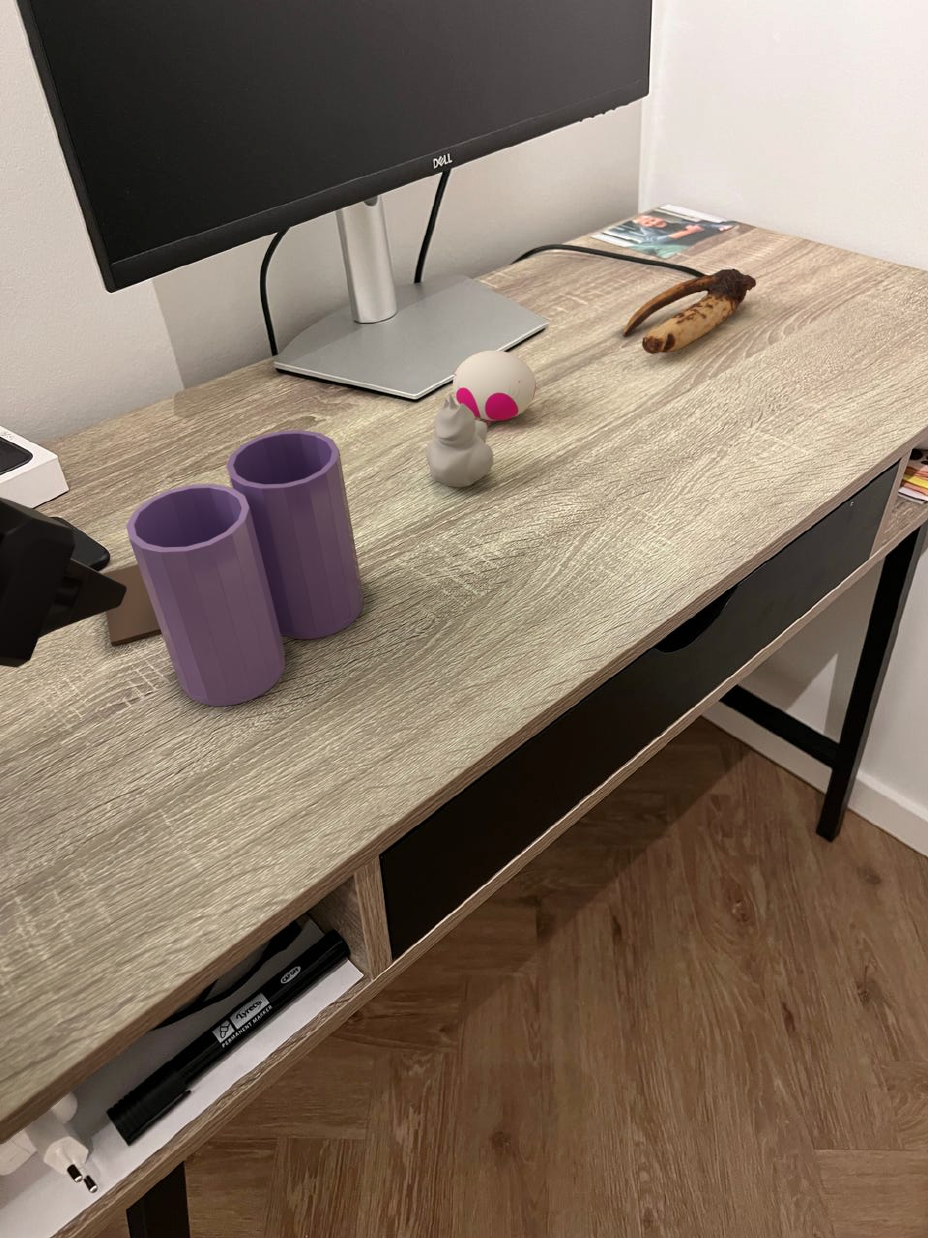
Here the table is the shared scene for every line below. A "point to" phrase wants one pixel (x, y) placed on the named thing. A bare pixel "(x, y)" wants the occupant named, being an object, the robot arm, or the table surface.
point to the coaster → (131, 609)
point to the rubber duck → (458, 446)
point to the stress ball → (494, 385)
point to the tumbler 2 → (301, 529)
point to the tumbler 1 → (209, 592)
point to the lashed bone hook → (692, 309)
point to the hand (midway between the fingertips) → (67, 565)
